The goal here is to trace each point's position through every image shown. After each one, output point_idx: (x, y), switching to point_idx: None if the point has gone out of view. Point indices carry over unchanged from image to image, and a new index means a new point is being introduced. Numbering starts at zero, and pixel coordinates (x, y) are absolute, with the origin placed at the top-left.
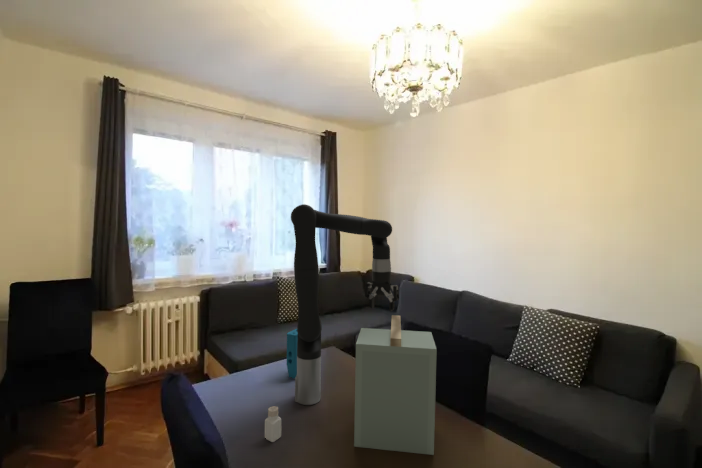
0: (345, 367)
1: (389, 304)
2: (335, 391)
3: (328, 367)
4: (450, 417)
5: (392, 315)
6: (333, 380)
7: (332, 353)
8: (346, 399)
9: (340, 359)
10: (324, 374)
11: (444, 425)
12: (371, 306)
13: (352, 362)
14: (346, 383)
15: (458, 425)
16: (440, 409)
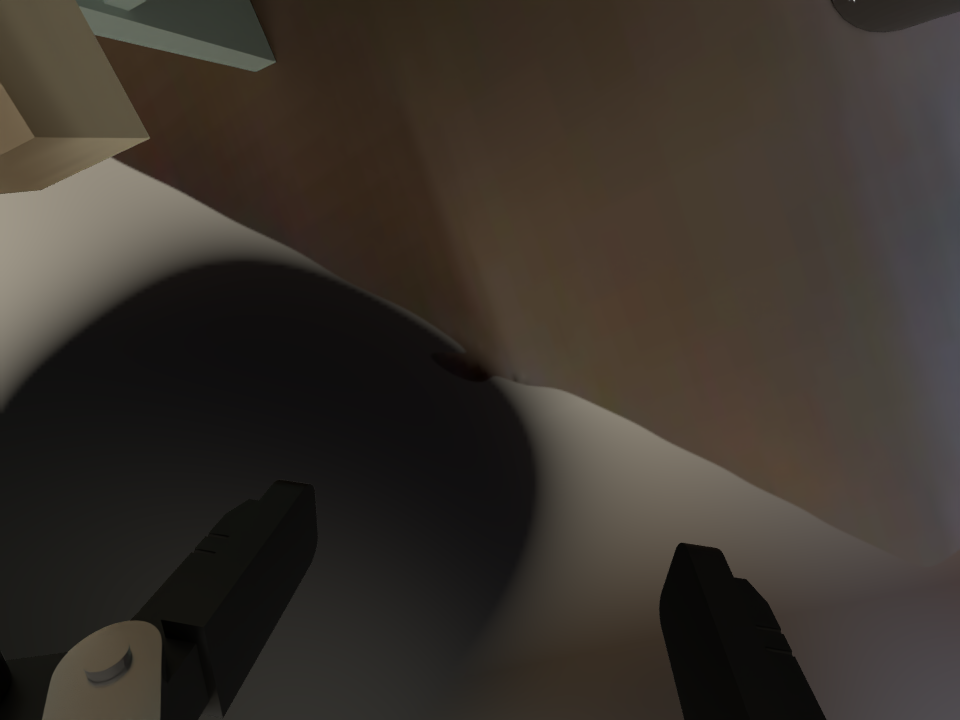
0: (783, 400)
1: (238, 576)
2: (761, 129)
3: (883, 366)
4: (211, 172)
5: (2, 110)
6: (810, 241)
7: (903, 517)
8: (672, 77)
9: (837, 470)
10: (885, 282)
11: (205, 96)
12: (705, 568)
13: (761, 461)
14: (726, 242)
15: (166, 127)
16: (264, 215)
